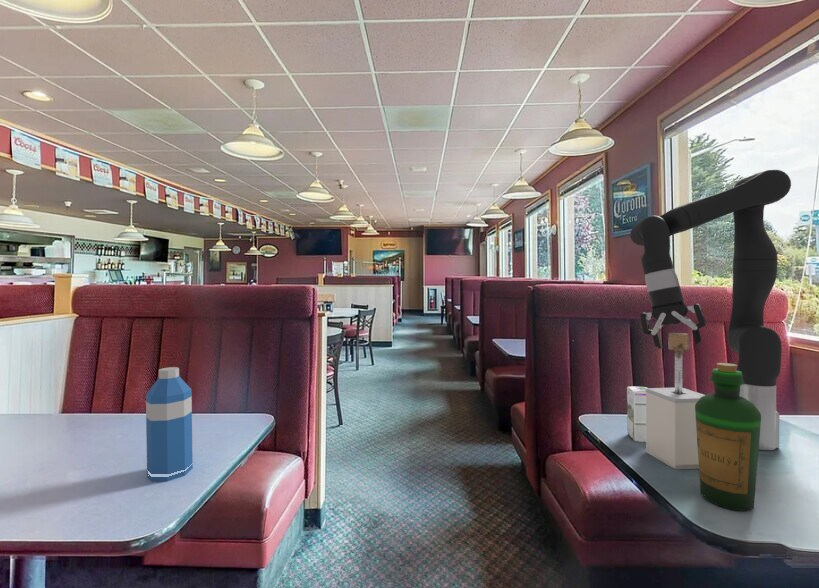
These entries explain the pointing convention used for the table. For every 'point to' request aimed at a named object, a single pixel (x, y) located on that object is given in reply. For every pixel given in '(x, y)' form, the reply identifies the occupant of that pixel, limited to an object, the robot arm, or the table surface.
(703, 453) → the bottle
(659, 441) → the white box
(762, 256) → the robot arm
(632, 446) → the table surface
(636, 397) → the syrup box
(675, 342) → the brown round knob
